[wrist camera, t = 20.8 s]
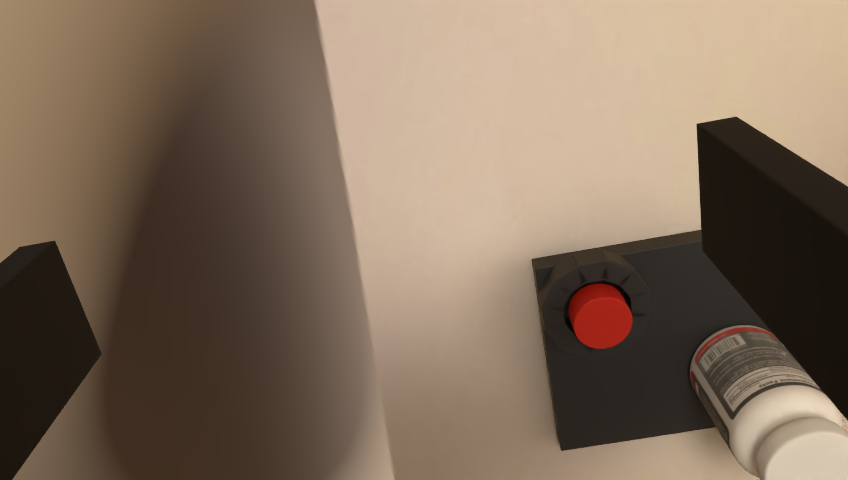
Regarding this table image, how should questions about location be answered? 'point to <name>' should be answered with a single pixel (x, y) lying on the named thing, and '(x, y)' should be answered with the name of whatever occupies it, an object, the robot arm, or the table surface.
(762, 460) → the pill bottle
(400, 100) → the table surface
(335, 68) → the table surface
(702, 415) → the black flat block
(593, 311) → the button
